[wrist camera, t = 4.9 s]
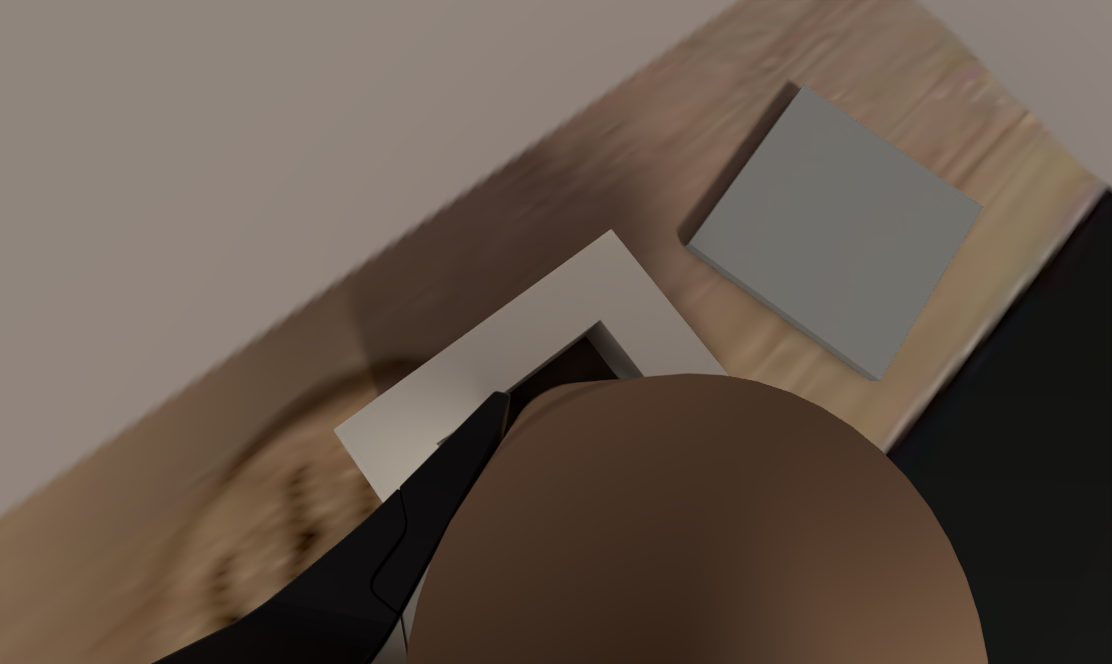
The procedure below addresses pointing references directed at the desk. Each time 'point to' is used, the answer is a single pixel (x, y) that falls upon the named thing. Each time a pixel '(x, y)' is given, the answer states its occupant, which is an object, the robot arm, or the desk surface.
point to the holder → (526, 357)
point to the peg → (692, 539)
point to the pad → (836, 232)
